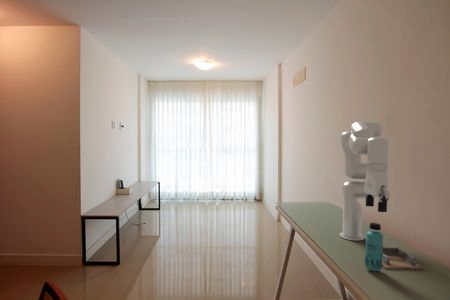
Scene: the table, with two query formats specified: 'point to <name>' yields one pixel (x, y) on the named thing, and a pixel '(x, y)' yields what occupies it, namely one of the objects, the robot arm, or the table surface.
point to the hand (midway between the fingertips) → (375, 208)
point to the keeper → (398, 260)
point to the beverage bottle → (374, 248)
